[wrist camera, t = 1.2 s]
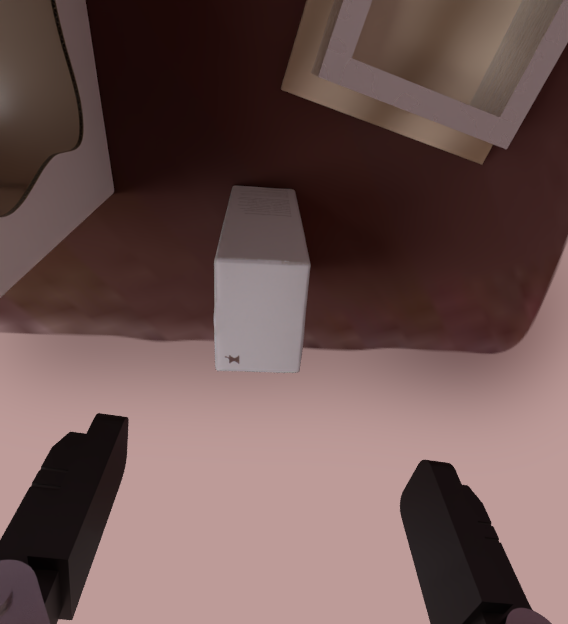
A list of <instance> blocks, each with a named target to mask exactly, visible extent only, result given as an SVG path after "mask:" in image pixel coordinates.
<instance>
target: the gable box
mask: <svg viewBox="0 0 568 624" xmlns="http://www.w3.org/2000/svg"><path fill="white" fill-rule="evenodd" d="M113 193H114V185H113V179H112V172H111V165H110V159H109V152H108V145H107V139H106V132H105V126H104V119H103V112H102V106H101V99H100V93H99V86H98V79H97V73H96V66H95V59H94V53H93V46H92V40H91V33H90V26H89V20H88V13H87V6H86V0H0V298H1V297H2V296H3V295H4V294H5V293H6V292H7V291H8V290H9V289H10V288H11V287H12V286H14V285H15V284H16V283H17V282H18V281H19V280H20V279H21V278H22V277H23V276H24V275H25V274H27V273H28V272H29V271H30V270H31V269H32V268H33V267H34V266H35V265H36V264H37V263H38V262H40V261H41V260H42V259H43V258H44V257H45V256H46V255H47V254H48V253H49V252H50V251H51V250H53V249H54V248H55V247H56V246H57V245H58V244H59V243H60V242H61V241H62V240H63V239H64V238H66V237H67V236H68V235H69V234H70V233H71V232H72V231H73V230H74V229H75V228H76V227H77V226H79V225H80V224H81V223H82V222H83V221H84V220H85V219H86V218H87V217H88V216H89V215H90V214H92V213H93V212H94V211H95V210H96V209H97V208H98V207H99V206H100V205H101V204H102V203H103V202H105V201H106V200H107V199H108V198H109V197H110V196H111V195H112V194H113Z"/></svg>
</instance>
